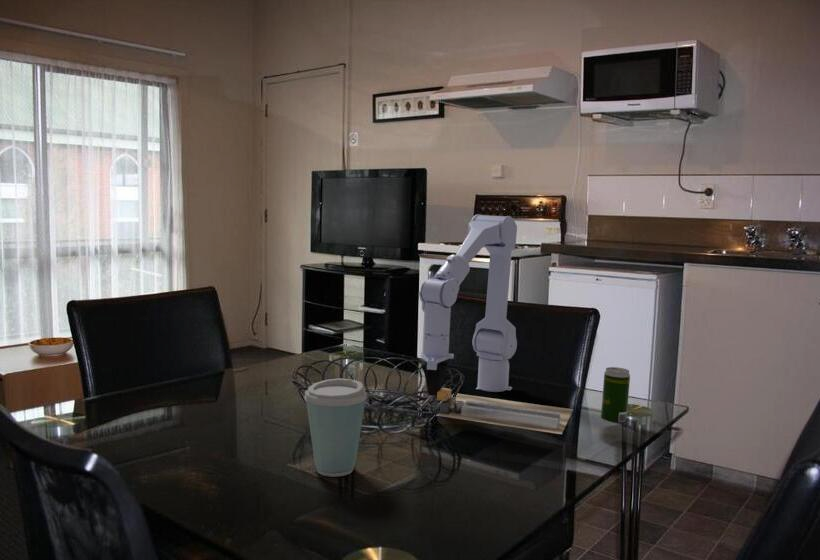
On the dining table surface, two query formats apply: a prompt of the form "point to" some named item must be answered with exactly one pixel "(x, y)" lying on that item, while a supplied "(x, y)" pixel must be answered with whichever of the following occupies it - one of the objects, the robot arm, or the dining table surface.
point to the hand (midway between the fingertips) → (433, 394)
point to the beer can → (615, 394)
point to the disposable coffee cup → (335, 424)
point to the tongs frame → (498, 415)
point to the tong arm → (506, 409)
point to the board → (564, 412)
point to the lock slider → (444, 394)
